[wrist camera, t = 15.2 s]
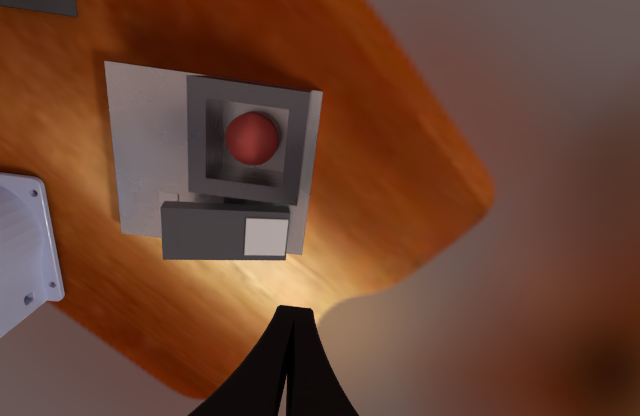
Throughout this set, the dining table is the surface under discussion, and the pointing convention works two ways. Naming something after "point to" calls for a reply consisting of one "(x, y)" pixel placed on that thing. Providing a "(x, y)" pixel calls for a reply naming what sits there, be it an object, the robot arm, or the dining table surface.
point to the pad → (44, 6)
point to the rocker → (223, 231)
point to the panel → (205, 144)
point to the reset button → (253, 137)
